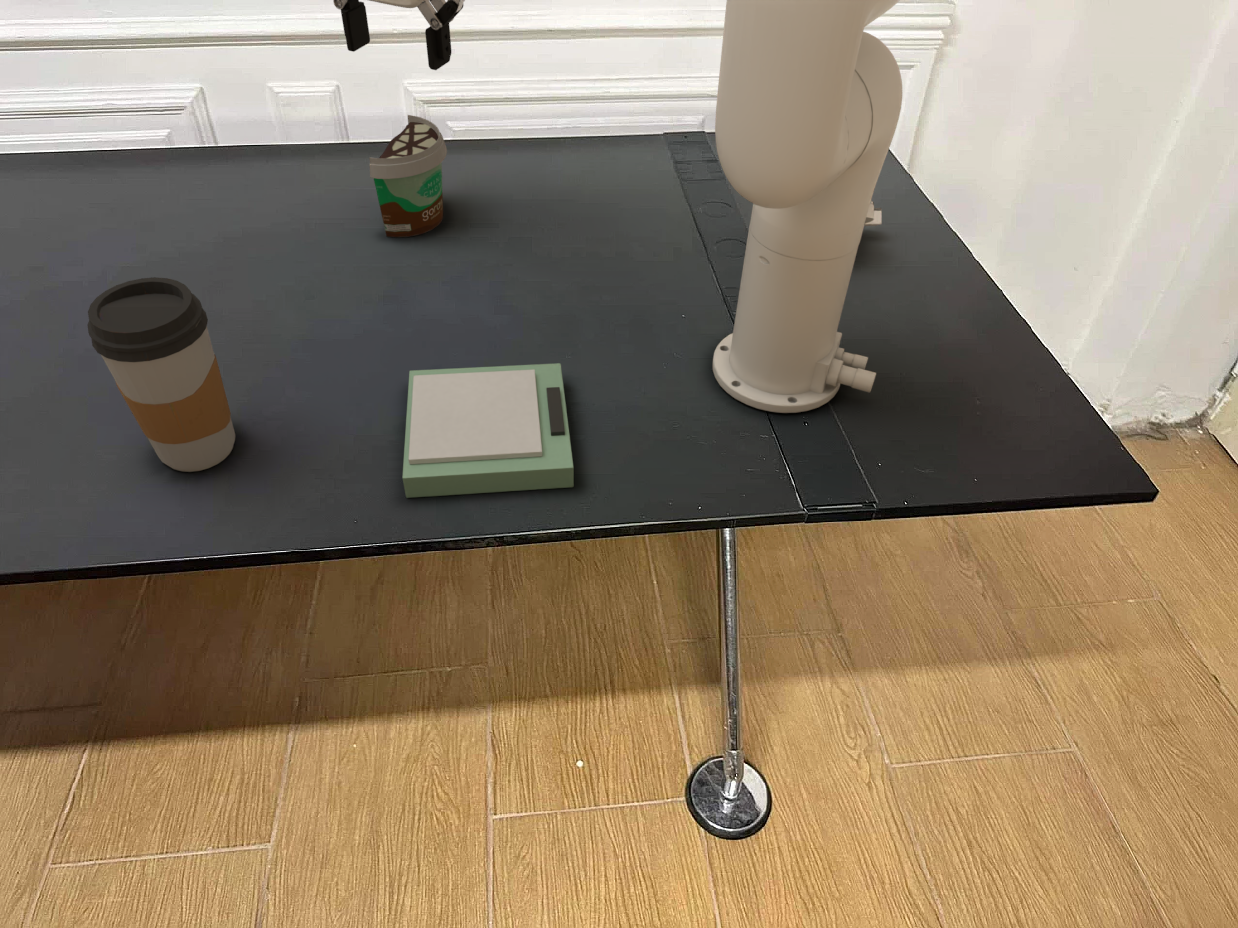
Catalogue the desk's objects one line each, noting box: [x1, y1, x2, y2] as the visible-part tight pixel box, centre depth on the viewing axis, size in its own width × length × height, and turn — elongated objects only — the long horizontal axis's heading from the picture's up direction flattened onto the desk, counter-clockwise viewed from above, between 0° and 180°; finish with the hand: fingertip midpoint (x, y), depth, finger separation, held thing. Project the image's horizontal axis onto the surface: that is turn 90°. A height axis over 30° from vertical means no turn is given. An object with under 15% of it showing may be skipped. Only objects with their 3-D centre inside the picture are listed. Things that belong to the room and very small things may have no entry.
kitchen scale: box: [401, 362, 575, 499], centre depth 80 cm, size 14×14×3 cm
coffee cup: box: [86, 276, 236, 473], centre depth 73 cm, size 8×8×15 cm
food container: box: [368, 114, 448, 238], centre depth 104 cm, size 12×6×10 cm, turn 168°
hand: (399, 56), depth 93 cm, fingers open, 9 cm apart
